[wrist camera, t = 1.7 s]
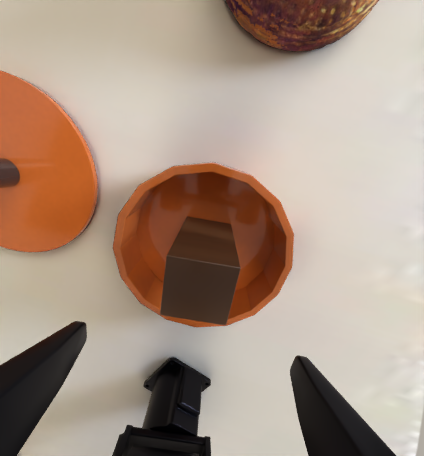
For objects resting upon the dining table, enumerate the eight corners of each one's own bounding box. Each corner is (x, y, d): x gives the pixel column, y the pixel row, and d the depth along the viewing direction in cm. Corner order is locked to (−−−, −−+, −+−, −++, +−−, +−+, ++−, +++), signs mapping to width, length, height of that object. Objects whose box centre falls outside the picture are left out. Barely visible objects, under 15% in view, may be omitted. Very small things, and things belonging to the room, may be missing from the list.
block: (222, 263, 20) (226, 326, 13) (181, 256, 20) (159, 315, 12) (231, 223, 19) (241, 268, 11) (186, 216, 19) (166, 255, 11)
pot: (214, 319, 23) (213, 350, 19) (107, 245, 20) (82, 265, 17) (309, 230, 19) (331, 248, 16) (193, 125, 17) (187, 116, 13)
